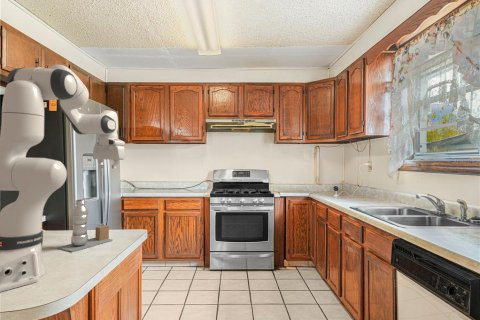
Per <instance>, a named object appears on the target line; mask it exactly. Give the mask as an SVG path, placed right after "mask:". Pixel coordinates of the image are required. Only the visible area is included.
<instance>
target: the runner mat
mask: <svg viewBox="0 0 480 320" xmlns="http://www.w3.org/2000/svg"><path fill="white" fill-rule="evenodd" d="M94 232H95V234H94V235H95V237H92V238H88V241H87V243H86V244H84V245H80V246H74V245H72V243H68V244H66V245H61V246H57V248H56V249H58V250H61V251H66V252H69V253H76V252H78V251H81V250H86V249H89V248H92V247H95V246H99V245H103V244H107V243H109V242H113V240H114V239H112V238H109V235H110V226H109V225H106V224H105V225H99V226H96V227H95V231H94Z"/></svg>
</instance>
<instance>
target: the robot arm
mask: <svg viewBox="0 0 480 320" xmlns="http://www.w3.org/2000/svg"><path fill="white" fill-rule="evenodd" d="M89 98H90V92H89V89H88V87H86V85H85V84H84V83H83V81H82V80H81V78H79V76H78V75H77V74H76V73H75V72H74V71H72V70H71V68H69V67H68V66H66V65H63V64H53V65H51V66H49V67H48V68H47V67H36V66H35V67H17V68H14V69H11V70H10V71H9V73H8V75H7V77H6V87H5V90H4V93H3V97H2V103H1V104H2V106H1V124H0V125H1V126H0V191H5V192H7V191H9V192H11V191H15V192H16V191H17V192H18V197H17V199H16V200H15V201H13V202H11V203H9V204H7V205H5V206H4V207H3V208H2V209H0V210H1V211H0V293H1V292H2V293H3V292H6V291H8V290H12V289H15V288H19V287H22V286H26V285H30V284H34V283H37V282H39V281H40V279H41V278H42V277H43V276H44V275H45V274H46V273H47V270H46V266H45V263H44V257H43V249H42V246H43V241H44V231H43V230H42V225H43V213H44V208H45V205H46V203H47V201H48V199H49V197H51V195H52V194H53V193H54V192H55V191H57V190H58V189H60V188H62V186H63V185H64V184H65V182H66V179H67V176H68V172H67V169H66V166H65V164H63V162H61V161H60V160H57V159H53V158H47V157H26V156H27V153H28V151H29V150H30V148H32V147H34V146H37V145H38V144H40V143H42V141H43V140H44V138H45V103H44V101H53V100H54V101H56V100H57V104H58V106H59V108H60V110H61V111H62V113H63V115H64V116H65V117H66V118H67V120H68V122H70V126H71V128H72V130H73V131H74V132H75V133H77V134H78V135H98V139H99V140H98V141H96V142H95V144H94V146H93V150H92V158H93V160H97V163H98V165H99V169H105V164H104V163H103V162H104V160H109V161H110V160H111V161H112V162H113V163H112V165H111V169H113V170H114V169H115V170H117V167H118V166H117V165H118V164H119V161H123V160H125V157H126V156H125V155H126V154H125V153H126V152H125V151H126V149H125V145H126V142H125V141H123V140H121V139H119V135H118V131H119V117H118V113H117V112H115V111H114V110H110V109H103V110H101V112H100V113H98V114H95V113H94V114H91V113H89V114H87V113H82V112H80V111H79V110H78V109H81V108H82V107H84V106H85V105H86V104H87V102H88V101H89Z"/></svg>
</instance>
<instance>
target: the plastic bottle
mask: <svg viewBox="0 0 480 320" xmlns="http://www.w3.org/2000/svg"><path fill="white" fill-rule="evenodd" d="M88 216H89V210H88V208H87V206H86V199H76V200H75V207H73V208H72V211H71V218H72V232H71V234H72V235H71V238H70V242H71V243H70V244H72V245H74V246H80V245H84V244H86V243H87V241H88V239H89V236H88V230H87V227H88V226H87V225H88Z"/></svg>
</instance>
